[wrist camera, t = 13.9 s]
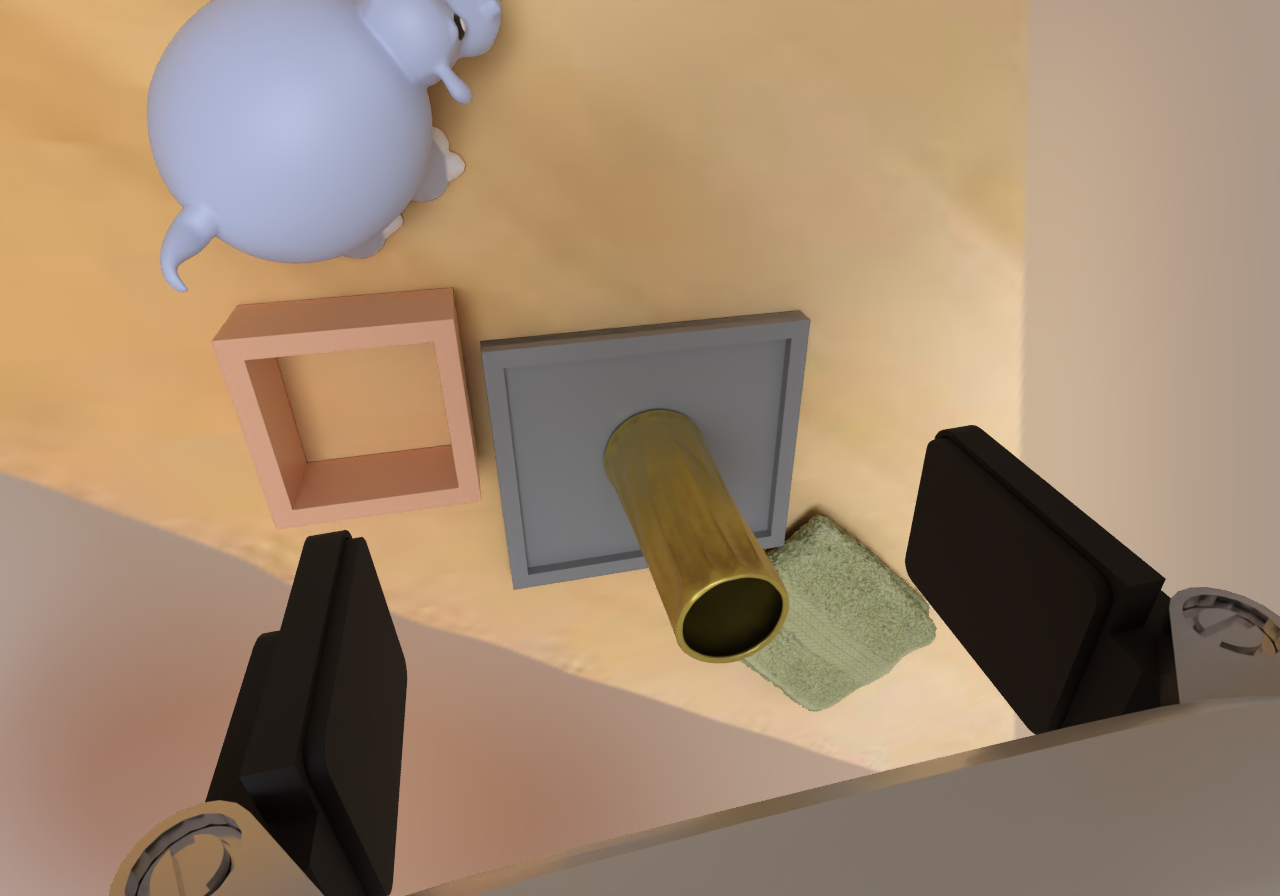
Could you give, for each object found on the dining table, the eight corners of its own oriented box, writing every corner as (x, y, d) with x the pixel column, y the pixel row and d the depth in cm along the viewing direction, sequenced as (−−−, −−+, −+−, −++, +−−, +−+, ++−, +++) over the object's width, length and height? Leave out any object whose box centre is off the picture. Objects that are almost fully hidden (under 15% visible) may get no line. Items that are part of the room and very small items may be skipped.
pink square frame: (452, 287, 36) (453, 319, 32) (477, 456, 41) (481, 501, 37) (237, 305, 34) (211, 341, 30) (292, 480, 39) (276, 529, 36)
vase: (701, 400, 42) (804, 552, 30) (703, 486, 45) (796, 655, 33) (598, 417, 41) (662, 581, 29) (607, 504, 44) (668, 685, 32)
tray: (799, 310, 41) (810, 319, 40) (775, 532, 49) (783, 545, 48) (480, 341, 38) (481, 352, 37) (511, 574, 46) (513, 589, 45)
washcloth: (807, 703, 60) (825, 735, 57) (679, 610, 51) (692, 643, 48) (934, 607, 58) (959, 636, 55) (823, 491, 48) (846, 519, 46)
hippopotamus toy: (558, 86, 33) (594, 109, 25) (325, 299, 35) (290, 382, 27) (371, -165, 27) (341, -240, 19) (109, 109, 29) (-16, 144, 21)
